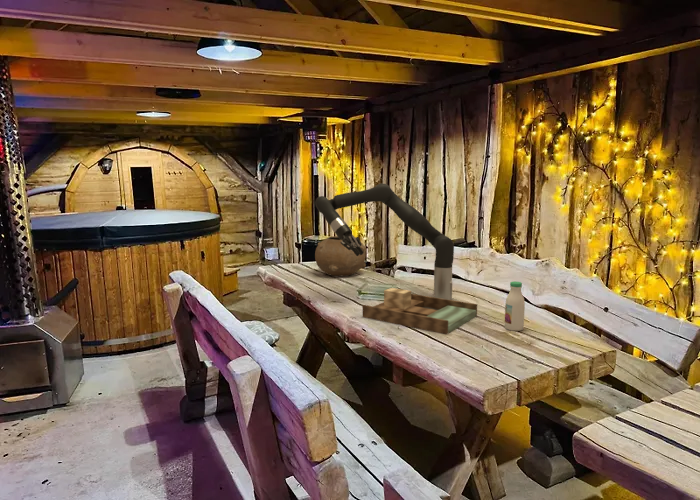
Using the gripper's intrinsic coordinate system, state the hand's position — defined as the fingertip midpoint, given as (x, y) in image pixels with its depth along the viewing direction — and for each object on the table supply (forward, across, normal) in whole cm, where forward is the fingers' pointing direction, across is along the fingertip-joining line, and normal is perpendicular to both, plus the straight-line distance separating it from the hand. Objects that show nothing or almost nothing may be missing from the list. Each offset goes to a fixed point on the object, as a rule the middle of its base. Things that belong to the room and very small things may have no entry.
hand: (360, 254), depth 234 cm
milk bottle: (+71, +7, -34) cm, 79 cm away
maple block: (+31, 0, +1) cm, 31 cm away
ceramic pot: (-21, +55, +58) cm, 82 cm away
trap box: (+42, 0, -5) cm, 42 cm away
